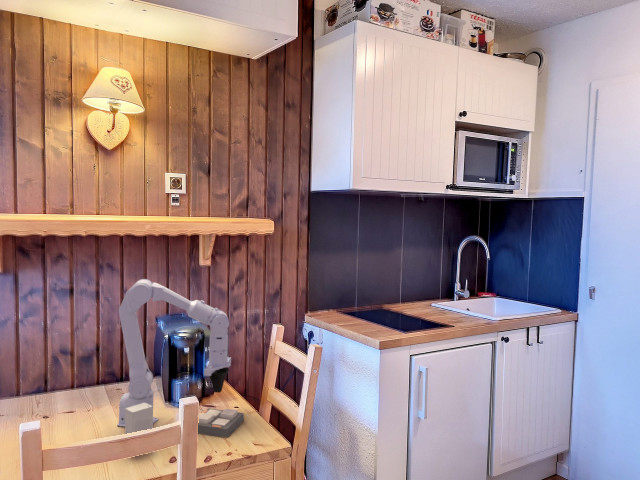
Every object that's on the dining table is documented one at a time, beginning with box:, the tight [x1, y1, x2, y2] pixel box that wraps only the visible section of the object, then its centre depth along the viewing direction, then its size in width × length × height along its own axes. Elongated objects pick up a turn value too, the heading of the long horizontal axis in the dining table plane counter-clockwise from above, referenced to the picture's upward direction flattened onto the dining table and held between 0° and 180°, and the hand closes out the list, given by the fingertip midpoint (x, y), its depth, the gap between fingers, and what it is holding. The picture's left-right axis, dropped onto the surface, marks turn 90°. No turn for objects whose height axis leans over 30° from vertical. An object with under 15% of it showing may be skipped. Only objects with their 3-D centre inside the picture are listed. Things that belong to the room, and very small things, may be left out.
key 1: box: [198, 412, 214, 424], centre depth 143 cm, size 4×4×2 cm
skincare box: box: [124, 402, 154, 435], centre depth 128 cm, size 6×4×12 cm
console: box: [197, 407, 245, 438], centre depth 145 cm, size 12×12×3 cm
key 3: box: [212, 418, 230, 427], centre depth 142 cm, size 4×4×2 cm
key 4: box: [220, 408, 239, 420], centre depth 147 cm, size 4×4×2 cm
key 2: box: [206, 408, 222, 417], centre depth 148 cm, size 4×4×2 cm
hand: (217, 391), depth 151 cm, fingers closed
